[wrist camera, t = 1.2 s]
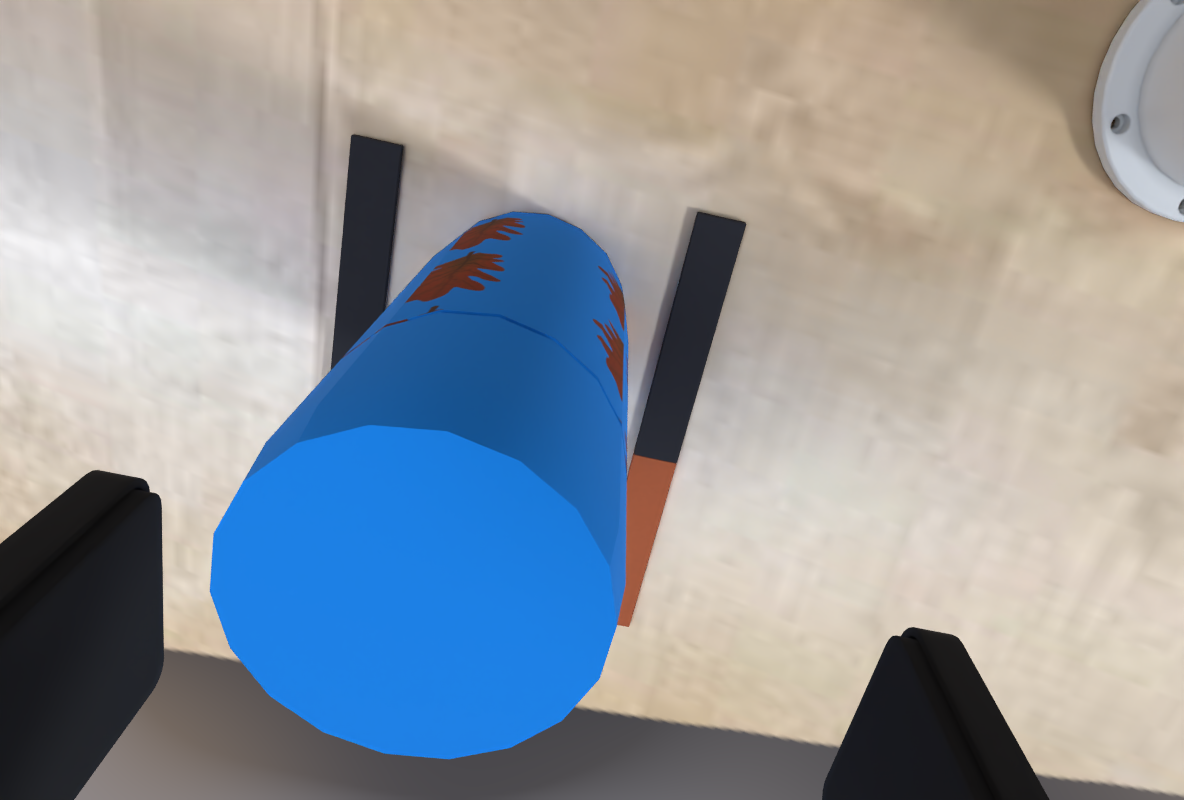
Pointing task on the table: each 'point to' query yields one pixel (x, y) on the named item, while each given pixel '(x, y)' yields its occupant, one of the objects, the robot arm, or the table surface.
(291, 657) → the thermos
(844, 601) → the table surface
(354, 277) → the lane
